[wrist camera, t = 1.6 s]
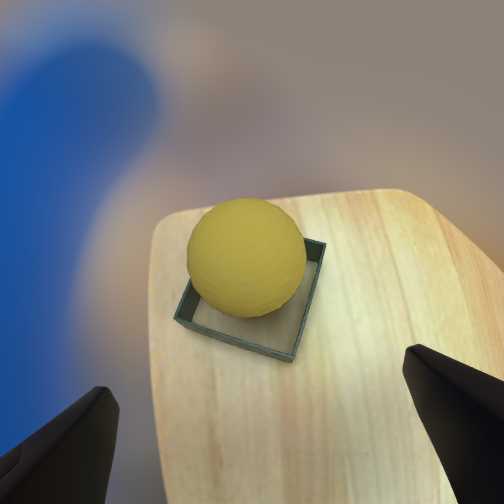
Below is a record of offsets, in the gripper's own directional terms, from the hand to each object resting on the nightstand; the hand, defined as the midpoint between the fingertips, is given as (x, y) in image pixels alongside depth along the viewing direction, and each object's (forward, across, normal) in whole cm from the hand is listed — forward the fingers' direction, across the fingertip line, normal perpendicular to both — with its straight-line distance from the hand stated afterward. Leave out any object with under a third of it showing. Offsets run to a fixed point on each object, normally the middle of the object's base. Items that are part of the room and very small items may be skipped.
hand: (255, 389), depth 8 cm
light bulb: (+15, 0, +4) cm, 15 cm away
